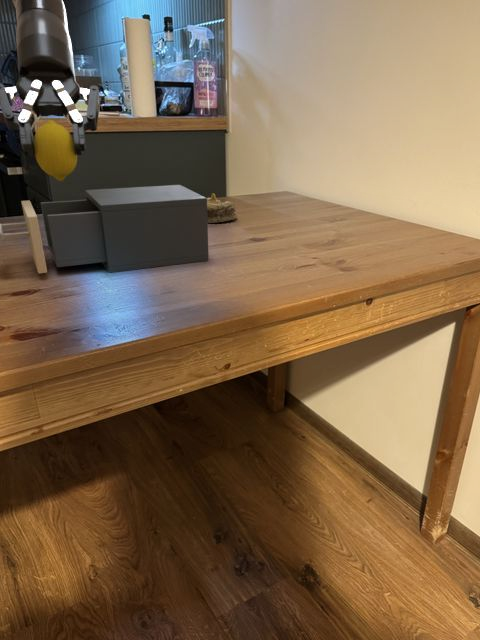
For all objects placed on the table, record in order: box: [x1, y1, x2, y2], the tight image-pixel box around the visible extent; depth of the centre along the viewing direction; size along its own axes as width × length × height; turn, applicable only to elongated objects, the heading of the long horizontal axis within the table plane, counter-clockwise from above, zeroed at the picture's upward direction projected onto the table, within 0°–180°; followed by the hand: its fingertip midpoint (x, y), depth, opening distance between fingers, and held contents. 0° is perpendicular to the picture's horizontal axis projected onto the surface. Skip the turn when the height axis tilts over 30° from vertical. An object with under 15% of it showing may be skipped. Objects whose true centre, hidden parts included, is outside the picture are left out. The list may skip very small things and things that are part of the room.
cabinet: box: [84, 184, 210, 274], centre depth 80 cm, size 16×13×10 cm
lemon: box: [33, 119, 78, 182], centre depth 70 cm, size 6×6×8 cm
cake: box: [206, 192, 238, 224], centre depth 105 cm, size 10×10×5 cm
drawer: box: [0, 199, 107, 274], centre depth 74 cm, size 19×12×8 cm, turn 117°
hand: (54, 151), depth 68 cm, fingers closed on lemon, 5 cm apart
